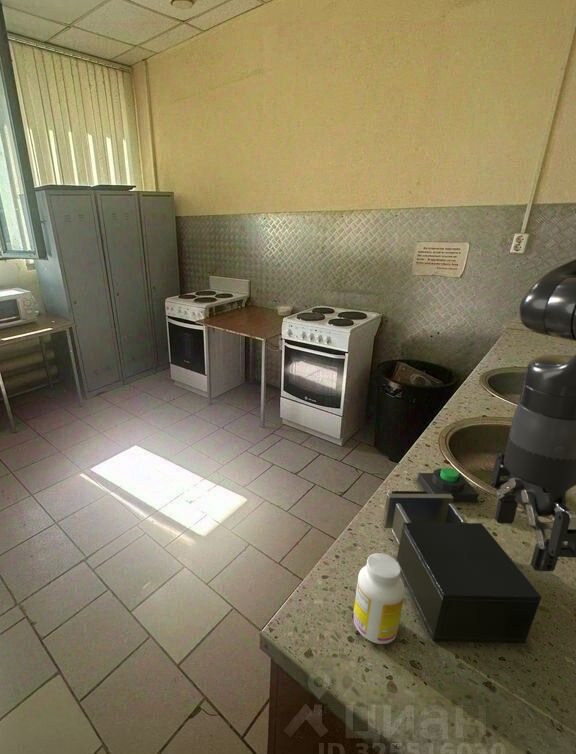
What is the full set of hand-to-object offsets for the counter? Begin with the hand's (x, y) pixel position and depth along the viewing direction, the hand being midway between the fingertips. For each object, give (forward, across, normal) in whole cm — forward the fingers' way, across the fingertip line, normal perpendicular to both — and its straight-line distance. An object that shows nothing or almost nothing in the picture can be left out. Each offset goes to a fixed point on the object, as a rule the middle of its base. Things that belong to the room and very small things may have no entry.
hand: (520, 543), depth 54 cm
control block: (+19, +37, -7) cm, 42 cm away
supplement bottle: (+19, +1, +18) cm, 26 cm away
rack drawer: (+18, +19, +4) cm, 26 cm away
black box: (+19, +7, +3) cm, 21 cm away
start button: (+15, +37, -8) cm, 41 cm away
